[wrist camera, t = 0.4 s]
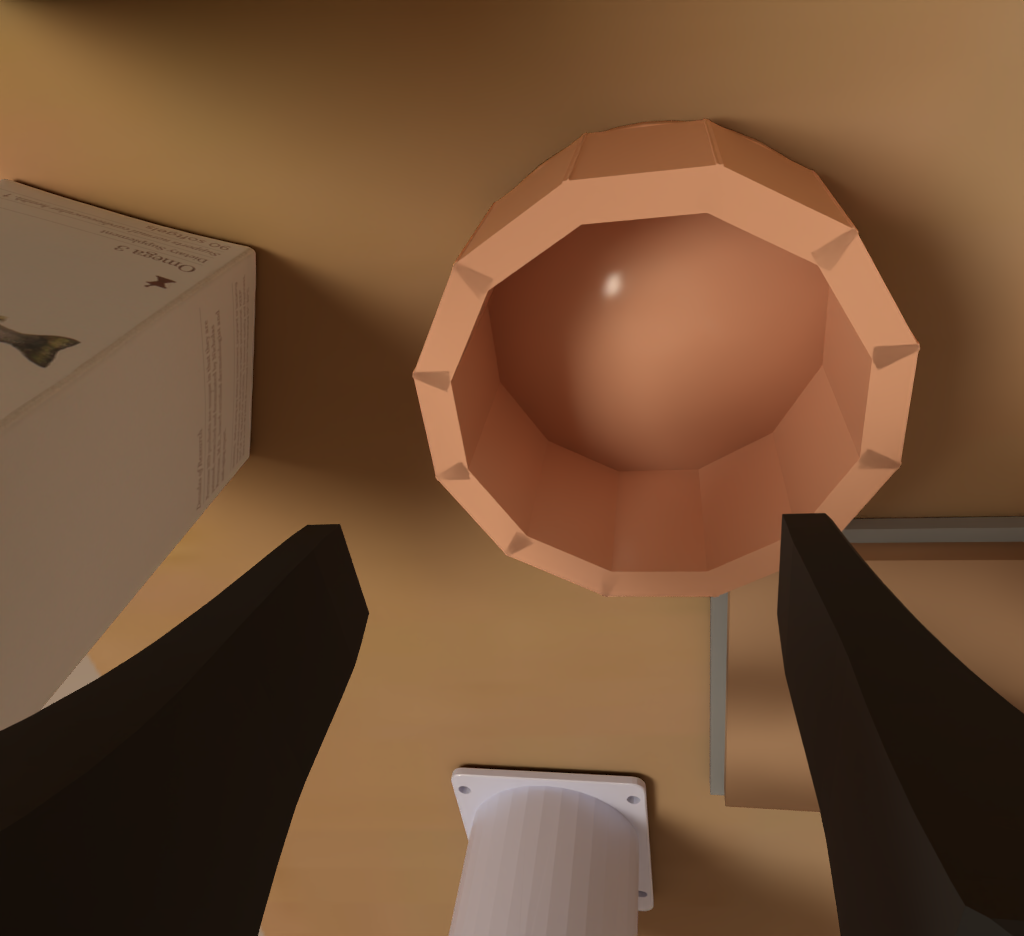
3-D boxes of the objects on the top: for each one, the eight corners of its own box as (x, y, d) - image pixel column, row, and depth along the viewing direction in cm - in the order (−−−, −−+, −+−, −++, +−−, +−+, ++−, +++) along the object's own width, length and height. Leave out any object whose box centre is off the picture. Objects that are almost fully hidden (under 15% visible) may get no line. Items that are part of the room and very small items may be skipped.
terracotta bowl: (838, 478, 22) (880, 598, 18) (495, 486, 24) (461, 596, 20) (881, 92, 17) (954, 138, 12) (434, 145, 19) (371, 199, 15)
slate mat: (1080, 803, 28) (1087, 815, 27) (709, 782, 30) (710, 794, 30) (1206, 514, 21) (1217, 525, 20) (710, 520, 23) (711, 530, 23)
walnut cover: (1075, 806, 27) (1129, 916, 24) (724, 787, 30) (732, 885, 26) (1188, 540, 21) (1282, 644, 18) (728, 544, 23) (739, 635, 20)
